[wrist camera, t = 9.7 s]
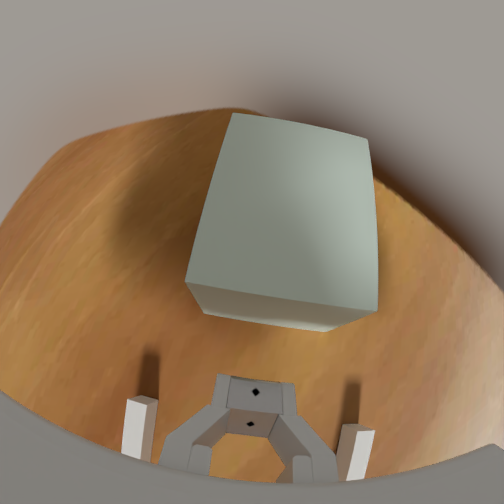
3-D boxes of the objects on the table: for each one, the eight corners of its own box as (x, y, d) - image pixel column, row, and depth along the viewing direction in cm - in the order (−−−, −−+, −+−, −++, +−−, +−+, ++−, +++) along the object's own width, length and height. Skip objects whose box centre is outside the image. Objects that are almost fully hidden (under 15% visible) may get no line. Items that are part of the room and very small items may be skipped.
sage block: (204, 313, 18) (184, 281, 11) (232, 186, 22) (232, 112, 15) (324, 332, 18) (377, 311, 11) (332, 203, 22) (367, 139, 15)
